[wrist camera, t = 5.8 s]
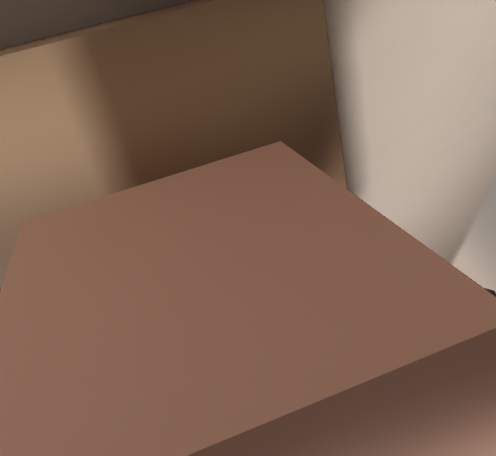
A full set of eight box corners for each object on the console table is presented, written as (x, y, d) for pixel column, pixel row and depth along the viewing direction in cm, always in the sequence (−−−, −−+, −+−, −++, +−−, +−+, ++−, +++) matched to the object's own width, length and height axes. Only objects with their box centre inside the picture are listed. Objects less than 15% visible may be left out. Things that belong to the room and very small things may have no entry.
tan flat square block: (323, 267, 18) (361, 311, 16) (63, 362, 17) (58, 428, 14) (275, -21, 13) (320, -26, 11) (-96, 73, 12) (-148, 94, 9)
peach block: (316, 332, 12) (499, 598, 6) (117, 410, 11) (142, 784, 6) (280, 141, 9) (521, 316, 4) (21, 222, 8) (-87, 568, 3)
